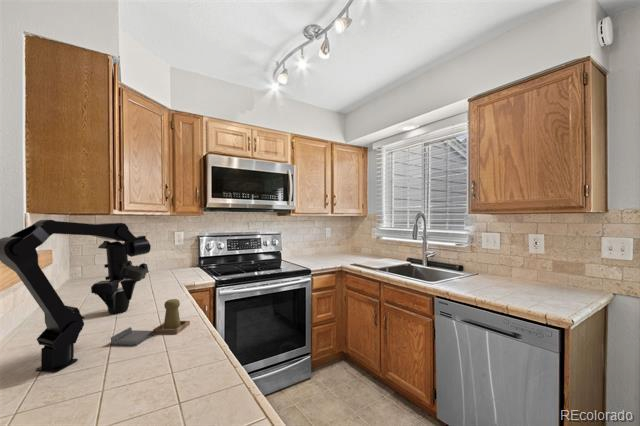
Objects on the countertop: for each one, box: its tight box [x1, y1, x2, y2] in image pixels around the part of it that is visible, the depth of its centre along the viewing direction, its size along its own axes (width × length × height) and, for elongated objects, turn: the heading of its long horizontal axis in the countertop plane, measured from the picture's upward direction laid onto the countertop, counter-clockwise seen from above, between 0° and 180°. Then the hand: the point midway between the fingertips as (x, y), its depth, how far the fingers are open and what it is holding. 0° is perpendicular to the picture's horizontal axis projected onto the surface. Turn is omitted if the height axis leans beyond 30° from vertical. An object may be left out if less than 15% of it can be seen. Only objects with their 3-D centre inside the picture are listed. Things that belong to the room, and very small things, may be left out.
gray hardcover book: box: [110, 327, 154, 346], centre depth 99 cm, size 8×9×2 cm
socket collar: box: [152, 320, 191, 335], centre depth 108 cm, size 9×9×2 cm
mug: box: [106, 286, 131, 315], centre depth 130 cm, size 12×9×10 cm
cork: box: [163, 298, 181, 329], centre depth 108 cm, size 6×6×11 cm
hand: (121, 304), depth 98 cm, fingers open, 9 cm apart
